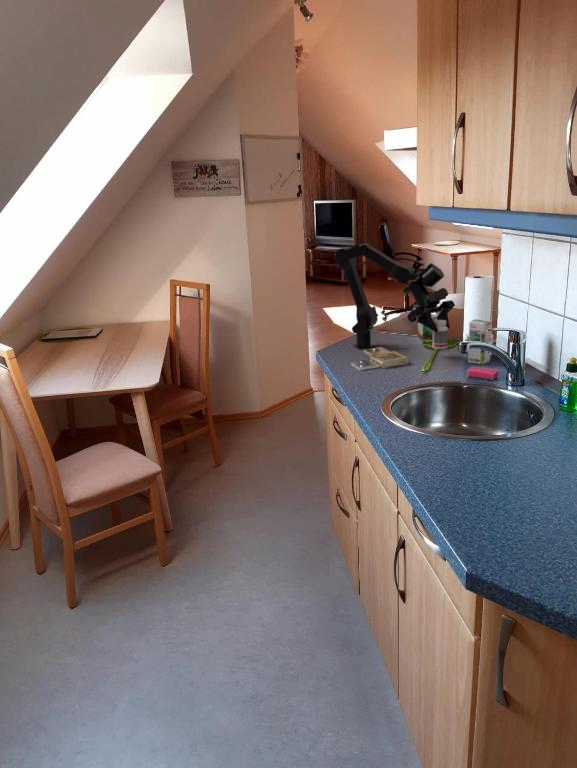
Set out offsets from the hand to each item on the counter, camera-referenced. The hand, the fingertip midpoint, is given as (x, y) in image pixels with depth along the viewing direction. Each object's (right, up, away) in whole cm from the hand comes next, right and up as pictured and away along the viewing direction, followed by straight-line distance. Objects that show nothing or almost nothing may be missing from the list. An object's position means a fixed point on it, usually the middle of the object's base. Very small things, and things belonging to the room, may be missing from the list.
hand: (443, 330), depth 215 cm
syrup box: (+11, -12, -4) cm, 17 cm away
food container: (+1, -2, +28) cm, 28 cm away
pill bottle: (0, -6, +3) cm, 7 cm away
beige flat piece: (-24, -11, +4) cm, 27 cm away
